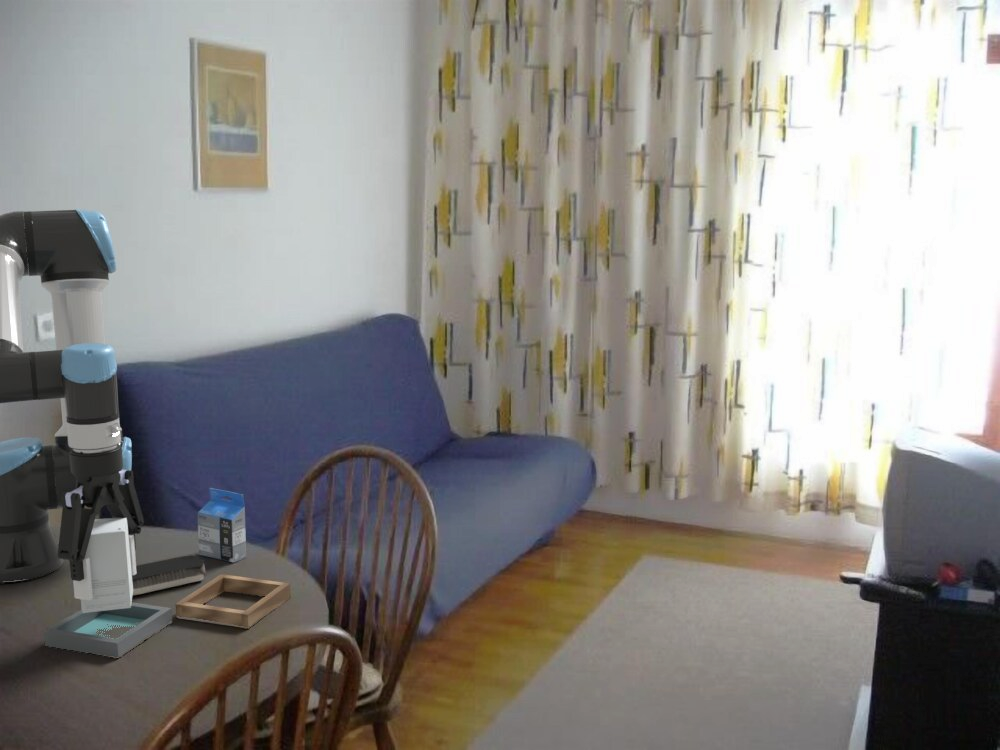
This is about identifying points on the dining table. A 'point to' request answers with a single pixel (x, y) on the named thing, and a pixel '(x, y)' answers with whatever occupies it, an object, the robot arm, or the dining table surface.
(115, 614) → the grey teal square tray
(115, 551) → the supplement box
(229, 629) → the dining table surface
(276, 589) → the wooden picture frame
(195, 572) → the black scrub brush
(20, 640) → the dining table surface
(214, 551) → the label tape box
